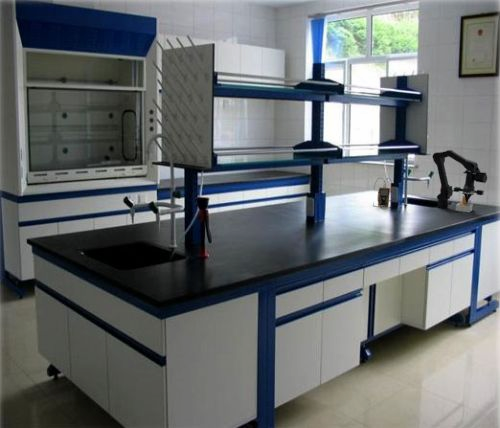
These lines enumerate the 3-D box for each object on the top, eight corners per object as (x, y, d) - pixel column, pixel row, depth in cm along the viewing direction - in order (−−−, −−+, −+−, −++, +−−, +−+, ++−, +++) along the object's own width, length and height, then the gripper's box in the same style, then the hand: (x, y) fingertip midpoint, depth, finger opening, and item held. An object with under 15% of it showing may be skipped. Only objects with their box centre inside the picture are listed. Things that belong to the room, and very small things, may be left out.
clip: (466, 206, 378) (467, 202, 378) (468, 203, 388) (468, 199, 388) (469, 206, 378) (469, 202, 377) (470, 203, 388) (470, 200, 387)
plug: (458, 208, 384) (459, 196, 382) (460, 207, 389) (461, 195, 387) (467, 210, 381) (469, 197, 379) (469, 208, 386) (470, 196, 384)
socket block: (455, 210, 383) (456, 205, 383) (458, 208, 392) (458, 202, 391) (469, 212, 379) (470, 206, 378) (471, 210, 387) (472, 204, 387)
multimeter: (371, 207, 387) (373, 178, 383) (372, 205, 396) (374, 177, 392) (393, 209, 383) (395, 180, 379) (394, 206, 392) (396, 178, 388)
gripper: (453, 180, 374) (450, 203, 377) (482, 183, 365) (479, 207, 368) (456, 178, 383) (453, 200, 387) (485, 182, 374) (482, 204, 378)
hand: (466, 203), depth 379 cm, fingers closed
